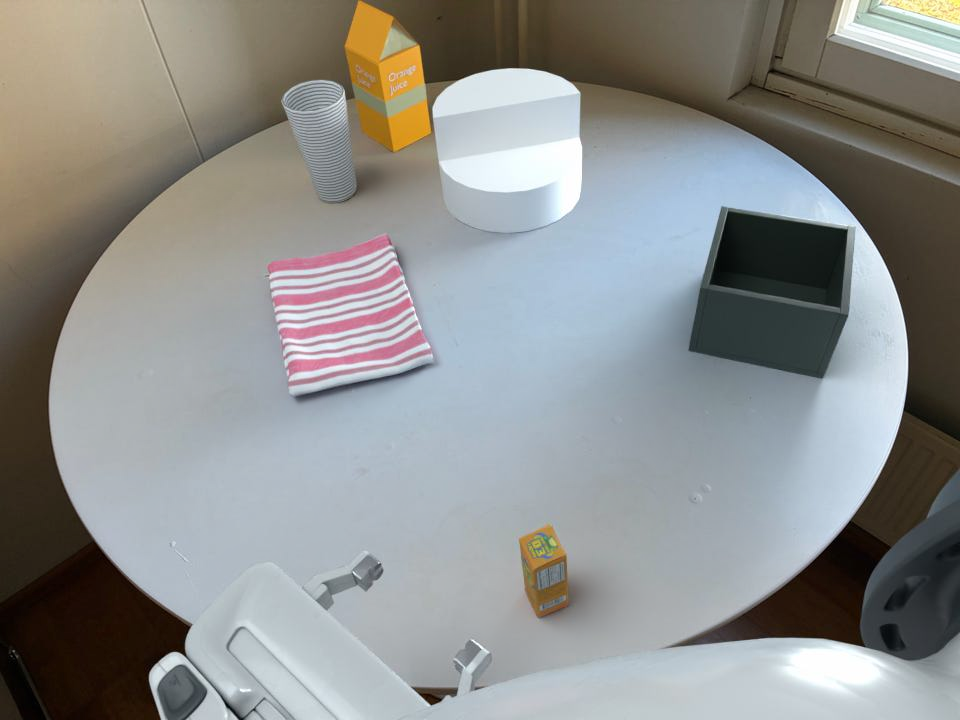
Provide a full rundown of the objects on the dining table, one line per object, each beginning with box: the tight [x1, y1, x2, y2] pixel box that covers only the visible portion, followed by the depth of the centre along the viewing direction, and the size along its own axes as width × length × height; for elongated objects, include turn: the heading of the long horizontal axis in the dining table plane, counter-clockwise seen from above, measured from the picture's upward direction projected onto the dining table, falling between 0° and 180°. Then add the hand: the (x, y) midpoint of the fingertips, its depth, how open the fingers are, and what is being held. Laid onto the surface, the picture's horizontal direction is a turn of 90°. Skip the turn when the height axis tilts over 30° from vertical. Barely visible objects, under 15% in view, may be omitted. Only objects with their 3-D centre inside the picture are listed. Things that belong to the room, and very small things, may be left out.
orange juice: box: [344, 0, 432, 153], centre depth 116 cm, size 8×9×20 cm
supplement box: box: [518, 523, 570, 619], centre depth 65 cm, size 3×3×10 cm
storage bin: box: [687, 205, 857, 379], centre depth 87 cm, size 15×15×10 cm
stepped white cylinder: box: [432, 67, 583, 234], centre depth 106 cm, size 20×20×13 cm
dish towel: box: [267, 232, 434, 397], centre depth 94 cm, size 17×23×4 cm
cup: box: [281, 78, 358, 204], centre depth 108 cm, size 8×8×16 cm
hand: (426, 602), depth 49 cm, fingers open, 8 cm apart
